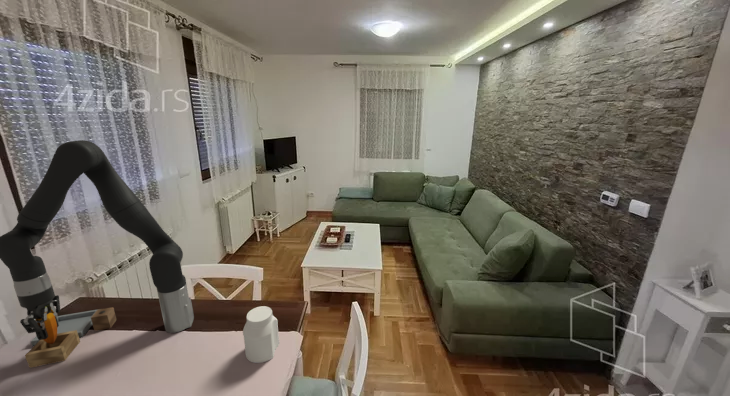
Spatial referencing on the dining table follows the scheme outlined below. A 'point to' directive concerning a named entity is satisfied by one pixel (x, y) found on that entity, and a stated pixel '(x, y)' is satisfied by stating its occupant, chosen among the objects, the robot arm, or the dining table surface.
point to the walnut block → (103, 319)
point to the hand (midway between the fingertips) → (49, 332)
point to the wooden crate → (53, 349)
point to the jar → (260, 335)
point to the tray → (73, 323)
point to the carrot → (50, 328)
